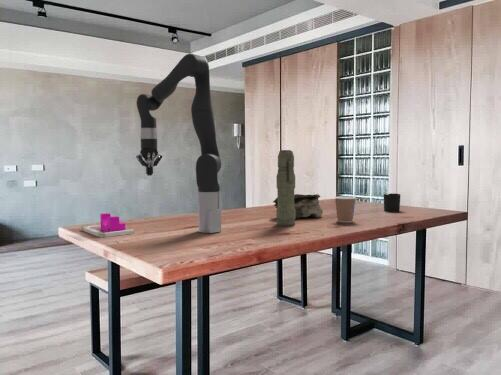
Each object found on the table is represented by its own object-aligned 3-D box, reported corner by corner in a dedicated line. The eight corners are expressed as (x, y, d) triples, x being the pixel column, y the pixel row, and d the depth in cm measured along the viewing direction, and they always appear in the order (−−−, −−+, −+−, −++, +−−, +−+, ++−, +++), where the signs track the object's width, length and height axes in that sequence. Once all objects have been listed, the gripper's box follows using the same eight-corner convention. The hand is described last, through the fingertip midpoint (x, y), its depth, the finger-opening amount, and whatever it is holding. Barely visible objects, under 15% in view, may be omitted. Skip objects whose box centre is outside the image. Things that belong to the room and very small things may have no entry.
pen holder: (401, 212, 242) (401, 194, 242) (384, 211, 244) (384, 194, 243) (398, 210, 252) (398, 193, 251) (382, 209, 253) (382, 193, 253)
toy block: (125, 233, 177) (125, 216, 176) (110, 235, 173) (110, 217, 173) (115, 229, 189) (114, 212, 188) (100, 230, 186) (100, 213, 185)
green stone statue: (284, 227, 191) (284, 149, 189) (271, 223, 202) (271, 150, 200) (300, 225, 195) (300, 150, 193) (287, 222, 206) (287, 150, 203)
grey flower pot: (357, 222, 202) (358, 198, 201) (336, 222, 203) (336, 198, 202) (353, 219, 213) (353, 196, 212) (332, 219, 213) (333, 196, 212)
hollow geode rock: (274, 228, 218) (281, 209, 207) (268, 209, 226) (274, 190, 215) (323, 223, 226) (332, 205, 215) (315, 205, 234) (323, 187, 223)
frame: (133, 233, 176) (133, 230, 176) (100, 237, 167) (100, 233, 167) (112, 226, 194) (112, 223, 194) (81, 230, 185) (81, 226, 185)
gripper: (139, 137, 188) (140, 176, 189) (165, 138, 197) (166, 175, 198) (131, 138, 194) (132, 175, 195) (157, 138, 202) (158, 174, 204)
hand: (149, 175), depth 196 cm, fingers closed
